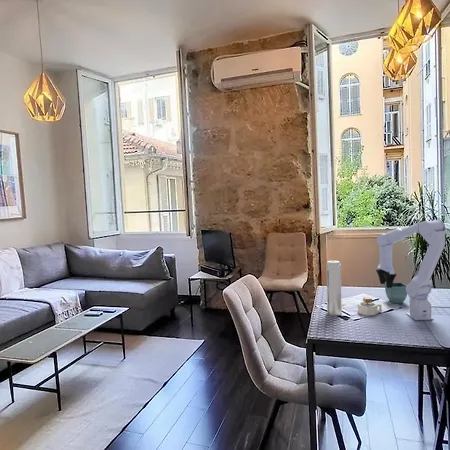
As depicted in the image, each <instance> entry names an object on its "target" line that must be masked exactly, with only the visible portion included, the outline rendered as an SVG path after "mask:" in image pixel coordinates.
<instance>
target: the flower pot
mask: <svg viewBox="0 0 450 450" xmlns="http://www.w3.org/2000/svg"><path fill="white" fill-rule="evenodd" d="M407 285H408V284H405V283H403V282H393V285H392V288H387V286H386V283H385V284H384V290H385V295H386V297H387V300H388V301H389V302H391V303H392V304H403V303H404V302H405V301H406V298H407V296H408V294H407V292H406V286H407Z"/></svg>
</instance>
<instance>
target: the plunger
mask: <svg viewBox="0 0 450 450" xmlns="http://www.w3.org/2000/svg"><path fill="white" fill-rule="evenodd" d="M362 302H365V303H362V305H363V306H373V304H372V303H373V299H372V297H370V296H369V297H368V296H365V297H364V296H363V297H362Z"/></svg>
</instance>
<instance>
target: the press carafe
mask: <svg viewBox="0 0 450 450" xmlns="http://www.w3.org/2000/svg"><path fill="white" fill-rule="evenodd" d="M362 303H365V302H364V301H361V302H359V303H357V312H358V313H359V314H360V315H364V316H375V315H377V314H378V313H380V312H381V313H382V312H383V309H382V308H383V307H382V304H381V303H379V304H377V303H376V302H372V304H373V306H363V305H362Z"/></svg>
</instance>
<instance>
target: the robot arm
mask: <svg viewBox="0 0 450 450" xmlns="http://www.w3.org/2000/svg"><path fill="white" fill-rule="evenodd" d="M447 230H448V229H447V227H446V224H445V223H444V222H443V221H442V220H440V219H435V220H427V221H426V220H425V221H421V222H416V223H414V224H412V225H409V226H407V227H405V228H400V227H399V228H398V227H394V228H393V230H388V231H386V232H385V233H379V235H377V237H376V243H377V244H378V245H379V248H378V249H379V253H378V254H379V264H377V267H376V268H377V269H376V270H375V271H376V273H377V276H378V280H379V283H380V285H385V283H386V286H387V288H392V285H393V283H394V280H395V279H396V277H397V273H395V269H394V267H393V248H394V244H396V243H398V242H401V241H403V240H405V239H406V236H410V235H412V234H416V233H417V234H420V235H421V237H422V238H423V239H424V240H425V242H426V243H428V247H427V249H426V252H425V254H424V257H423V259H422V262H421V264H420V267H419V269H418V272H417V273H416V275H415V276H414V277H413V278H412V279H410V281H409V283H408V284H406V285H407V286H406V292H407V296H408V298H409V312H405V314H406V315H408V316H409V317H410V318H412V319H413V320H414V321H426V320H434V317H432V304H431V302H430V301H429V299H428V297H429V294H430V293H431V292H432V284H433V281H432V280H431V278H432V275H433V273H434V271H435V269H436V267H437V264H438V262H439V260H440V257H441V255H442V253H443V251H444V248H445V245H446V232H447Z"/></svg>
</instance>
